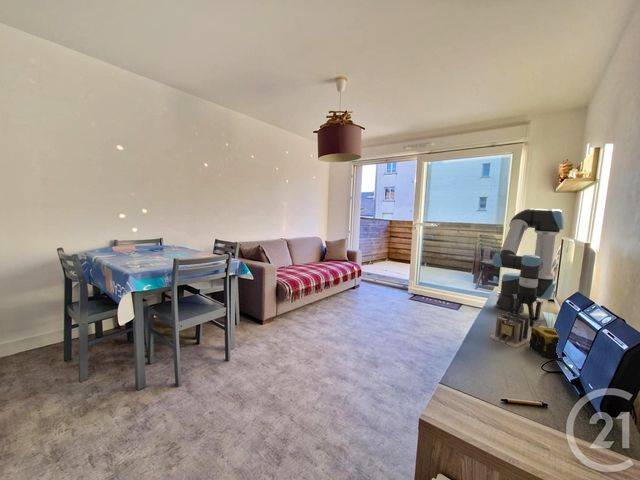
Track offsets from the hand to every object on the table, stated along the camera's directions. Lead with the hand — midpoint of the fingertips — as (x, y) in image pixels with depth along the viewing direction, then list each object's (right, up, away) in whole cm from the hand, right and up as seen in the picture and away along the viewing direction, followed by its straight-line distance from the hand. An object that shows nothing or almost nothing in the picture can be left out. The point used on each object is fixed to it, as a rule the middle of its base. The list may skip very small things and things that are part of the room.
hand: (522, 329), depth 141 cm
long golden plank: (-6, +1, -4) cm, 8 cm away
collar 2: (-6, -2, -4) cm, 8 cm away
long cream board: (-1, -2, 0) cm, 2 cm away
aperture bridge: (-15, -2, -9) cm, 17 cm away
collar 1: (-11, -2, -7) cm, 14 cm away
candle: (-3, -4, -19) cm, 20 cm away
